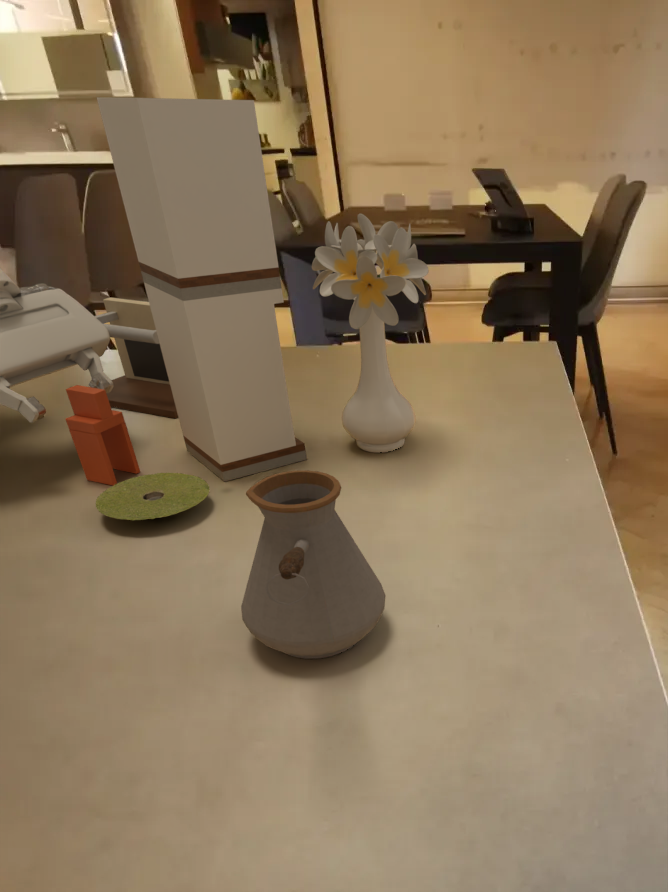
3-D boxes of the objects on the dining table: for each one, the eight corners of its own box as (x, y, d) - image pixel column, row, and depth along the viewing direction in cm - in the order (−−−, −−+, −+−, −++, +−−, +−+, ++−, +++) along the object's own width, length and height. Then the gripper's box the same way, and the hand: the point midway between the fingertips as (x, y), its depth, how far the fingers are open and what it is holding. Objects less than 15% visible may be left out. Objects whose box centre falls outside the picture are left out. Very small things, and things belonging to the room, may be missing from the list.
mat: (220, 485, 80) (216, 469, 79) (204, 532, 71) (200, 515, 70) (116, 491, 79) (111, 474, 77) (87, 539, 70) (81, 522, 69)
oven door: (175, 418, 97) (151, 325, 89) (76, 400, 102) (45, 311, 94) (226, 394, 105) (208, 308, 97) (132, 379, 110) (107, 296, 102)
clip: (113, 486, 80) (84, 397, 73) (86, 480, 81) (55, 392, 75) (140, 472, 83) (114, 386, 77) (114, 466, 84) (86, 381, 78)
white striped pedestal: (307, 459, 86) (253, 100, 65) (224, 481, 81) (136, 97, 59) (265, 432, 93) (205, 99, 72) (187, 451, 88) (96, 97, 66)
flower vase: (347, 481, 82) (319, 235, 66) (323, 425, 95) (296, 211, 80) (453, 467, 85) (450, 231, 70) (416, 416, 99) (407, 209, 83)
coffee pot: (252, 598, 62) (215, 434, 53) (382, 587, 64) (368, 425, 54) (230, 779, 45) (170, 585, 36) (406, 756, 47) (391, 566, 38)
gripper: (46, 300, 84) (134, 393, 87) (-127, 342, 69) (-12, 452, 72) (60, 261, 80) (152, 359, 83) (-120, 296, 65) (1, 415, 68)
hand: (75, 403), depth 77 cm, fingers open, 8 cm apart
